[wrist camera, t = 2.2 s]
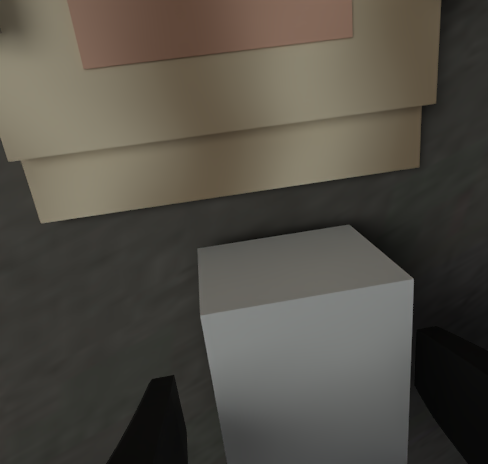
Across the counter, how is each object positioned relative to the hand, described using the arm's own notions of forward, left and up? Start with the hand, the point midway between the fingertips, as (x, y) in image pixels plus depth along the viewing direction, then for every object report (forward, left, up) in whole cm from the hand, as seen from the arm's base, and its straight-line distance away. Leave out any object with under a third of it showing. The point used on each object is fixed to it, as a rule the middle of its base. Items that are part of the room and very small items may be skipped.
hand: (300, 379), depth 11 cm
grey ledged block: (0, 0, -4) cm, 4 cm away
